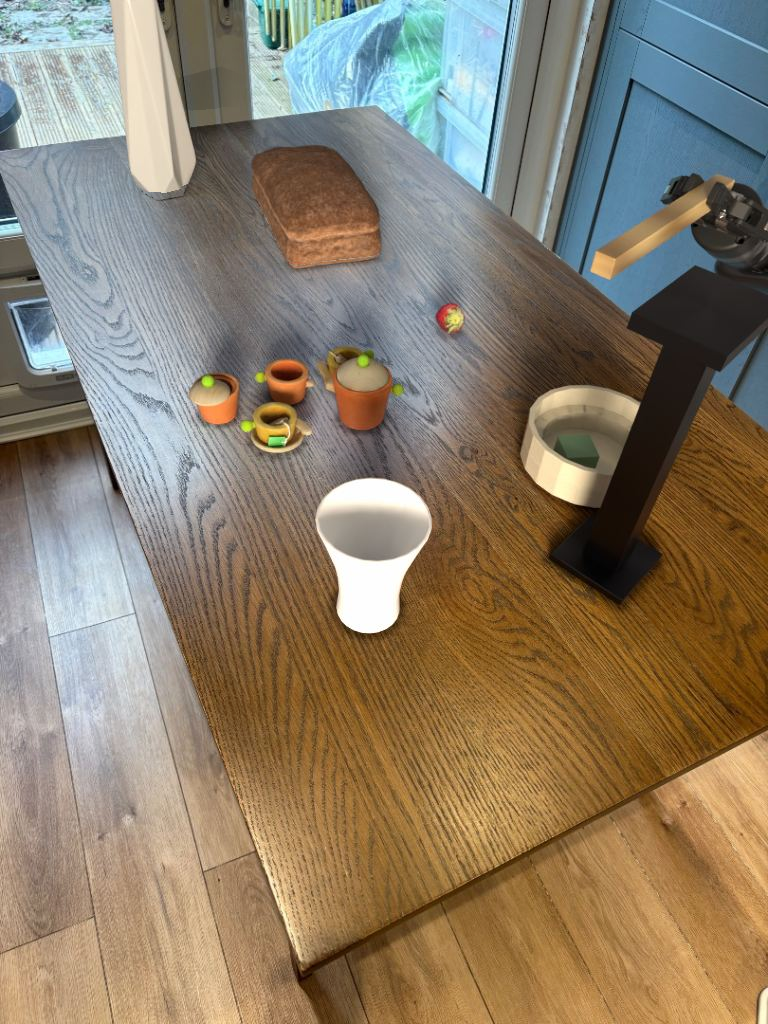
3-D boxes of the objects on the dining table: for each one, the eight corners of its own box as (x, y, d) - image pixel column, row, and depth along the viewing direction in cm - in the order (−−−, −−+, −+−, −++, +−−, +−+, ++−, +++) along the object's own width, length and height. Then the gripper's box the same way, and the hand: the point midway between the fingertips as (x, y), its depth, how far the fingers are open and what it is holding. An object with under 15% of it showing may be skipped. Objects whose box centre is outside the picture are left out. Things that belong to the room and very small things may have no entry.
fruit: (455, 317, 115) (459, 288, 112) (467, 339, 111) (472, 310, 108) (429, 320, 114) (432, 290, 111) (440, 342, 111) (444, 312, 107)
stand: (593, 515, 88) (689, 262, 65) (662, 557, 84) (791, 304, 61) (541, 566, 82) (626, 309, 59) (612, 614, 78) (734, 358, 55)
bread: (335, 188, 144) (336, 125, 136) (385, 262, 126) (389, 194, 117) (248, 196, 140) (243, 131, 132) (286, 274, 121) (283, 205, 113)
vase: (115, 191, 138) (71, -24, 114) (166, 174, 144) (134, -34, 121) (158, 213, 133) (121, -7, 109) (208, 194, 139) (184, -18, 116)
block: (581, 458, 94) (589, 434, 91) (591, 480, 91) (600, 456, 88) (550, 460, 93) (557, 435, 90) (559, 482, 90) (567, 458, 88)
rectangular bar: (710, 192, 79) (717, 173, 77) (728, 199, 78) (735, 179, 76) (589, 271, 66) (595, 250, 65) (609, 280, 65) (615, 259, 64)
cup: (295, 609, 76) (290, 519, 66) (363, 551, 82) (368, 461, 72) (372, 670, 72) (380, 583, 62) (439, 605, 78) (455, 516, 68)
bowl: (649, 434, 99) (664, 398, 94) (653, 523, 88) (670, 486, 83) (525, 412, 100) (534, 375, 96) (513, 496, 89) (523, 459, 85)
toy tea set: (362, 358, 107) (365, 297, 100) (413, 423, 97) (420, 361, 90) (182, 402, 98) (170, 339, 91) (219, 478, 88) (210, 415, 81)
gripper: (695, 174, 89) (658, 127, 75) (809, 214, 83) (792, 172, 69) (662, 236, 92) (620, 202, 78) (770, 279, 86) (747, 252, 72)
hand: (701, 188), depth 73 cm, fingers closed on rectangular bar, 2 cm apart
